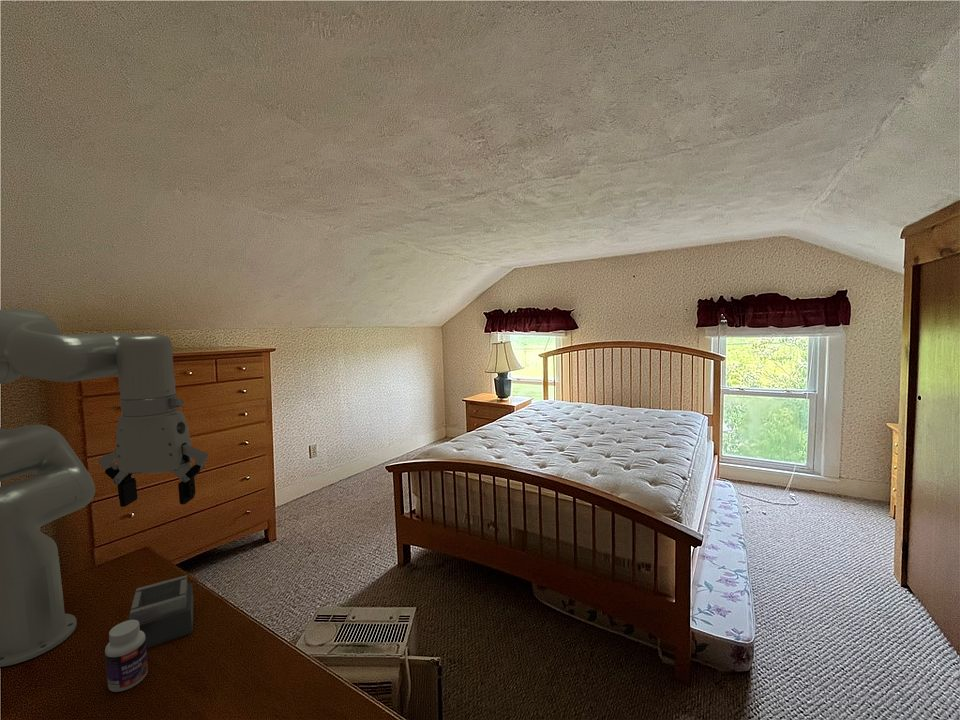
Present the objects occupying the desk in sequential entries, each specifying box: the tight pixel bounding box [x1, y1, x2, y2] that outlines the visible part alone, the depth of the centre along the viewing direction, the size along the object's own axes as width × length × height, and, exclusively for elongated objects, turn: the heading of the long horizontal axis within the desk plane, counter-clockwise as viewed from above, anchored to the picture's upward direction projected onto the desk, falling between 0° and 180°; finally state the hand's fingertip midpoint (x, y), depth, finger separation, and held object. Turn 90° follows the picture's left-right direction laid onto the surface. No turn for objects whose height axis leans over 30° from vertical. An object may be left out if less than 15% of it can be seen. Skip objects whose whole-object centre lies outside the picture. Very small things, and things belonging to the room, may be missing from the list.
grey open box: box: [127, 574, 195, 649], centre depth 85 cm, size 10×10×8 cm
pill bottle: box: [104, 619, 149, 693], centre depth 73 cm, size 5×5×10 cm
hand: (158, 502), depth 74 cm, fingers open, 9 cm apart
